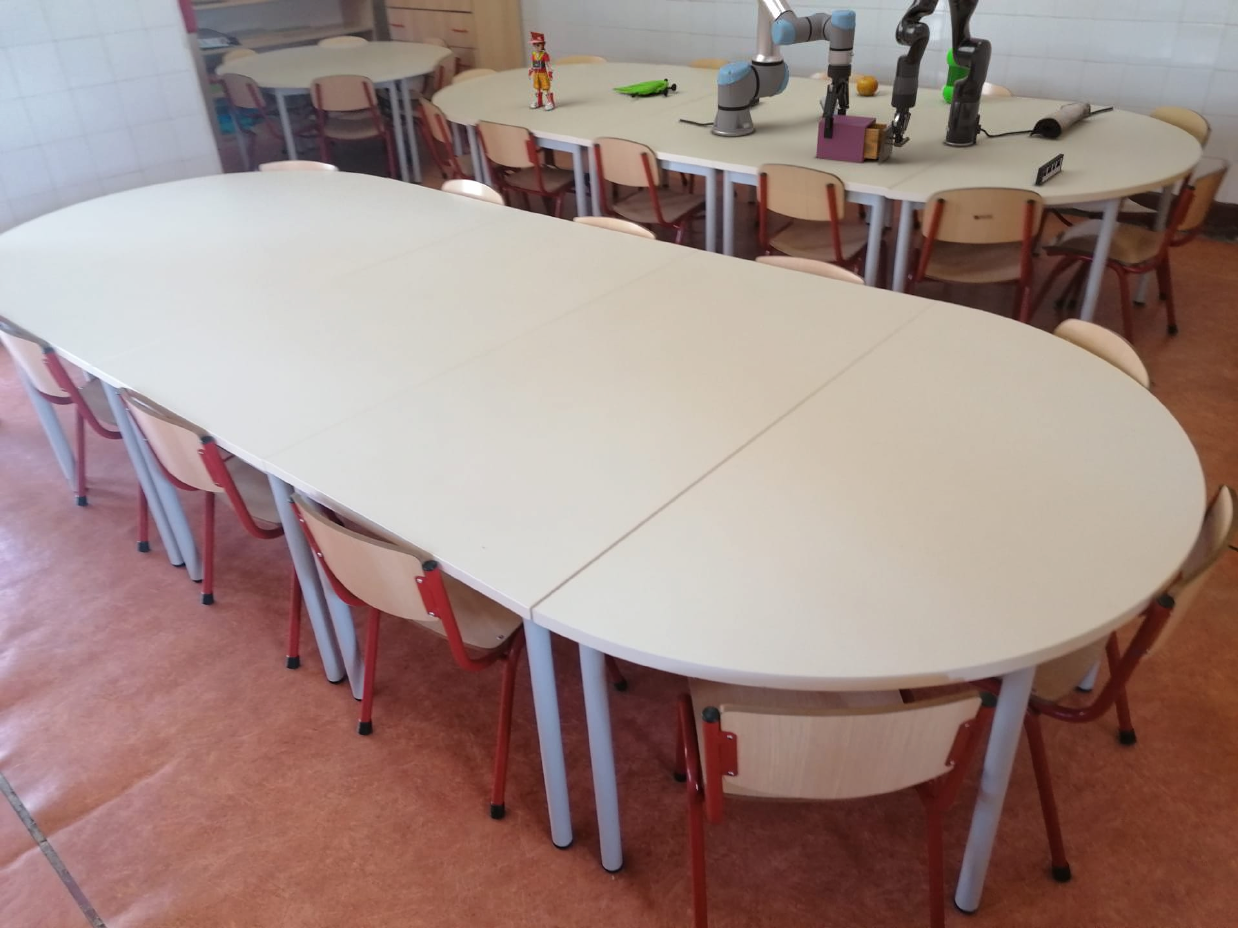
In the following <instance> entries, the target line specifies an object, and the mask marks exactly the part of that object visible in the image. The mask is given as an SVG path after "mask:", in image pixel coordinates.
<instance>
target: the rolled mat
mask: <svg viewBox="0 0 1238 928" xmlns="http://www.w3.org/2000/svg"><path fill="white" fill-rule="evenodd" d="M1091 112H1092V105H1091V104H1090V103H1089V102H1082V101H1080V102H1079V101H1078V102H1073V103H1072V102H1071V103H1065V104H1063V105H1061V106H1060V108H1059V109H1058V110H1056V111H1053V112H1052V113H1050V114H1048V115H1046V116H1044V117H1042V118H1040V119H1039V120H1037V121H1036V123H1035V125H1034V126H1033V128H1032V129H1031V130H1032V132H1029V137H1032V136H1034V135H1041V136H1042V137H1043V138H1046V139H1051V140H1055V139H1056V140H1057V139H1058V138H1059V137H1060V136H1061V135H1063V134H1064V133H1065V132H1066V131H1067V129H1068V128H1070V127H1071V126H1073V124H1075V123H1076V122H1077V121H1079V120H1084V119H1085V120H1086V119H1087V118H1090V117H1091V116H1092V114H1091ZM1078 119H1079V120H1078Z"/></svg>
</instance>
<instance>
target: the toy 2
mask: <svg viewBox="0 0 1238 928" xmlns="http://www.w3.org/2000/svg"><path fill="white" fill-rule="evenodd" d="M669 85H670V83H669V79H668V78H664V79H663V80H649V81H644V82H640V83H634V84H629V85H627V86H621V87H613V88H612V89H613V90H616V91H619V92H623V93H627V94H628V93H629V94H631V95H630V96H631V98H632V99H634V98H636V96H637V95H650V94H652V93H654V94H658V93H662V95H663V96H665V97H667V96H668V95H669V90H671V91H672V92H676V91H677V84H676V83H672V84H671V86H669Z"/></svg>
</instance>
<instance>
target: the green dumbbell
mask: <svg viewBox="0 0 1238 928" xmlns="http://www.w3.org/2000/svg"><path fill="white" fill-rule="evenodd" d="M946 63H947V64H948V69H947V70H948V71H947V76H946V77H947V78H946V84H945V85H944V87H943V90H942V97H943V99H944V100H945V101H946V102H947V103H948V104H951V100H952V93H953V86H954V83H955V81H957V80H959V79H963V78H966V77H967V76H968V72H969V69H967V68H962V67H958V66H956V65H955V63H954V61H953V55H952V47H951V48H950V49H949V50H948V52H947V54H946Z"/></svg>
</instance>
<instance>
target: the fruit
mask: <svg viewBox="0 0 1238 928" xmlns="http://www.w3.org/2000/svg"><path fill="white" fill-rule="evenodd" d="M878 89H879V82H878V80H877V78H875V77H873V76H870V75H868V76H862V77H860V79H859V80H858V81H857V83H856V91H857V93H858V94H859V95H861V96H871V95H872V96H873V95H874V94H875V93H876V92H877V91H878Z"/></svg>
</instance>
